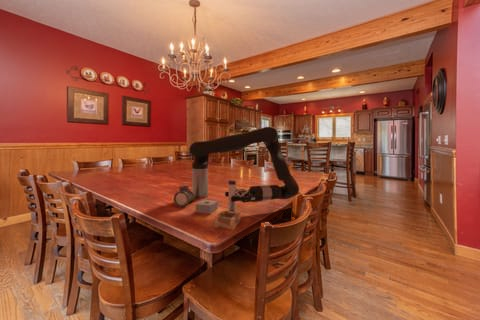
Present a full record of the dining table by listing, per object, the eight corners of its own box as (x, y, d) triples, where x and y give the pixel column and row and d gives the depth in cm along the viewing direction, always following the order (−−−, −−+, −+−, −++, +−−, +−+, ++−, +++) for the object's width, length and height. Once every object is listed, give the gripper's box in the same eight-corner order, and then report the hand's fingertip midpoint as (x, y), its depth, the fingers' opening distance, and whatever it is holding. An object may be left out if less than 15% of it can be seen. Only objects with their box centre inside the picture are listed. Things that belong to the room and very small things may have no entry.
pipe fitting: (187, 207, 108) (186, 186, 108) (173, 207, 109) (172, 187, 110) (197, 202, 119) (196, 184, 120) (184, 203, 121) (183, 185, 121)
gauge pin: (230, 213, 100) (230, 180, 98) (236, 214, 99) (236, 180, 97) (227, 216, 97) (227, 181, 95) (234, 217, 96) (234, 182, 94)
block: (203, 207, 109) (203, 199, 109) (217, 208, 107) (217, 201, 106) (195, 212, 102) (195, 204, 101) (210, 214, 99) (210, 205, 99)
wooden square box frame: (222, 219, 93) (222, 210, 92) (240, 221, 90) (240, 212, 90) (214, 226, 85) (214, 217, 85) (233, 229, 83) (233, 219, 82)
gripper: (254, 182, 108) (223, 185, 102) (267, 189, 95) (233, 192, 89) (254, 197, 109) (223, 200, 103) (267, 205, 96) (233, 209, 90)
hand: (228, 196), depth 96 cm, fingers open, 8 cm apart
